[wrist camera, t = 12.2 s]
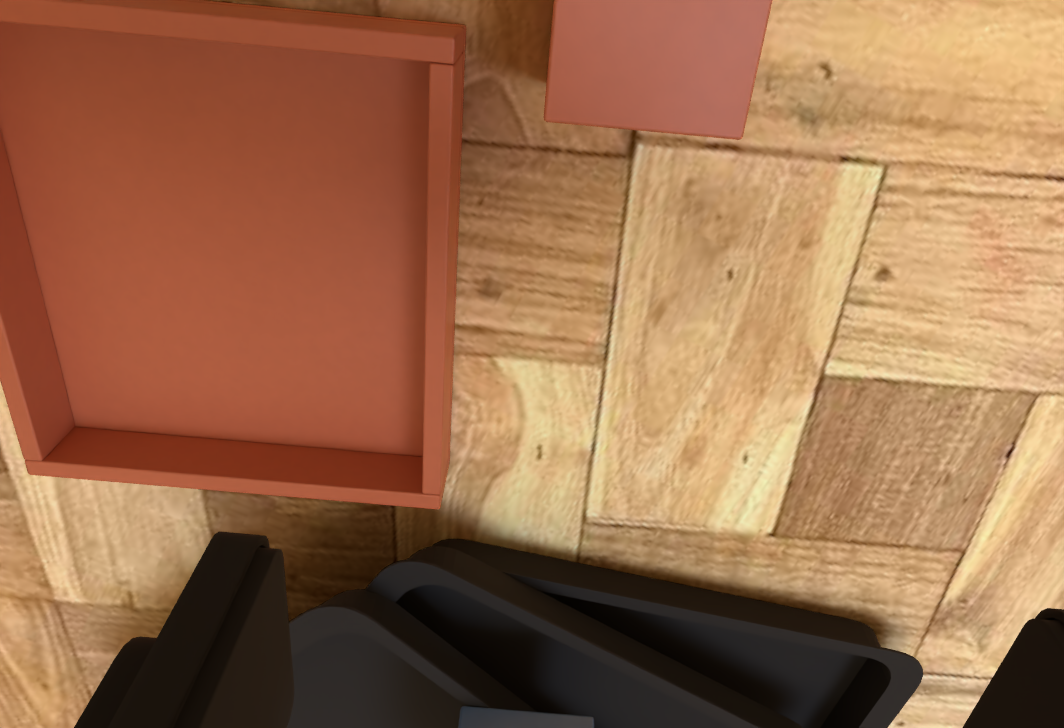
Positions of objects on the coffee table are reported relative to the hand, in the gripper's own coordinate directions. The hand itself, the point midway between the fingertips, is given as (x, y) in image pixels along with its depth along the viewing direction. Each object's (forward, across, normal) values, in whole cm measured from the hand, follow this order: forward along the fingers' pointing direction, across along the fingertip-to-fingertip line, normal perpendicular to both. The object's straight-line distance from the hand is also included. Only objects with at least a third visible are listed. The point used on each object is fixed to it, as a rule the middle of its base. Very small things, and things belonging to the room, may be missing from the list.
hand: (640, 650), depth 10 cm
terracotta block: (+15, 0, -6) cm, 16 cm away
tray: (+15, 0, +22) cm, 26 cm away
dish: (+15, +10, +2) cm, 18 cm away
